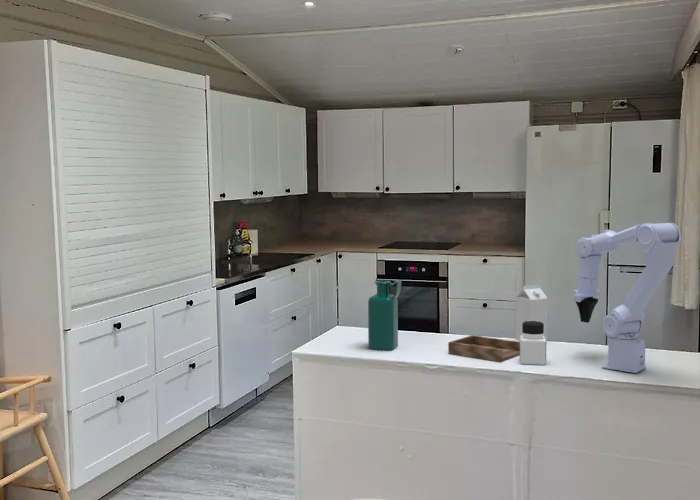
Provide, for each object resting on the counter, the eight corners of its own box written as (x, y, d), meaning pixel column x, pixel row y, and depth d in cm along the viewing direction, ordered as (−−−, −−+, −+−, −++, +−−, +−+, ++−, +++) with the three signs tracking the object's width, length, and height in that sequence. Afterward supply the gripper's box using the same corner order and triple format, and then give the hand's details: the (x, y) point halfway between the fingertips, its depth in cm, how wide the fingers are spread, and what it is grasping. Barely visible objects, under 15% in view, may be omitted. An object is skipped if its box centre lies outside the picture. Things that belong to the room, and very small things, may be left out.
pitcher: (366, 350, 224) (366, 281, 223) (374, 344, 232) (373, 278, 231) (396, 351, 221) (396, 282, 220) (403, 346, 229) (402, 279, 228)
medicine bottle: (546, 365, 202) (546, 323, 201) (520, 364, 203) (520, 323, 203) (544, 359, 209) (544, 319, 208) (519, 358, 210) (520, 319, 209)
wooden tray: (523, 353, 217) (523, 342, 216) (500, 362, 206) (500, 350, 206) (472, 346, 228) (472, 335, 228) (448, 353, 218) (448, 342, 217)
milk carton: (515, 341, 235) (516, 285, 234) (532, 339, 238) (532, 283, 237) (530, 345, 229) (530, 287, 227) (547, 343, 232) (547, 285, 231)
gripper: (585, 272, 218) (582, 315, 220) (564, 278, 208) (562, 323, 210) (607, 275, 214) (604, 319, 216) (588, 281, 203) (585, 327, 205)
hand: (585, 321), depth 212 cm, fingers closed
